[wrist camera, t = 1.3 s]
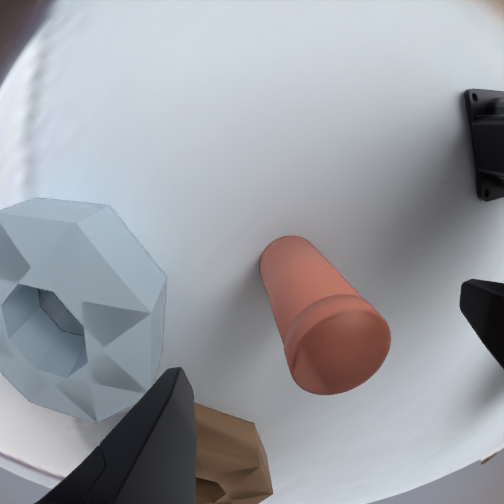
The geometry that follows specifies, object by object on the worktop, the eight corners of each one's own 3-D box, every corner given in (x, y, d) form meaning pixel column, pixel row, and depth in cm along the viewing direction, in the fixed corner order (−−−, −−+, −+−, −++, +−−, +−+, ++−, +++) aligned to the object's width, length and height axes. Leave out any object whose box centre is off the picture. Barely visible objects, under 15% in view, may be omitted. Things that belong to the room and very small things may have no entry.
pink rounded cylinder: (314, 228, 14) (390, 293, 7) (323, 284, 15) (389, 375, 8) (251, 243, 14) (280, 327, 7) (265, 300, 15) (297, 406, 8)
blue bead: (74, 156, 12) (33, 159, 8) (205, 321, 15) (203, 365, 11) (-20, 276, 13) (-55, 300, 9) (86, 396, 16) (69, 435, 12)
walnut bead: (241, 393, 16) (247, 439, 13) (273, 472, 20) (280, 507, 16) (94, 412, 16) (80, 451, 13) (157, 486, 19) (153, 518, 16)
